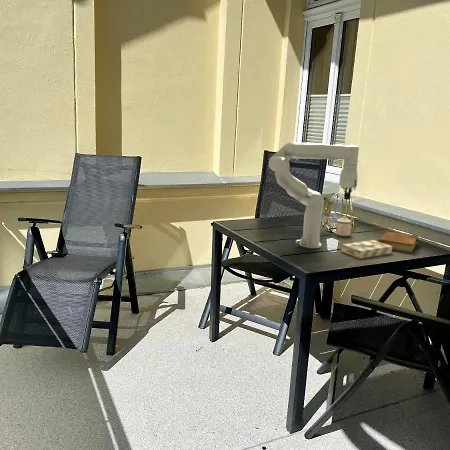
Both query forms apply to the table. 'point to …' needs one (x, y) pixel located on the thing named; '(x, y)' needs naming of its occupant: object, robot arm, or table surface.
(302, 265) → the table surface
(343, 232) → the teacup with lid
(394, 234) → the diary
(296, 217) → the table surface
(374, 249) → the beige flat block
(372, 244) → the key offwhite
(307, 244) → the robot arm
